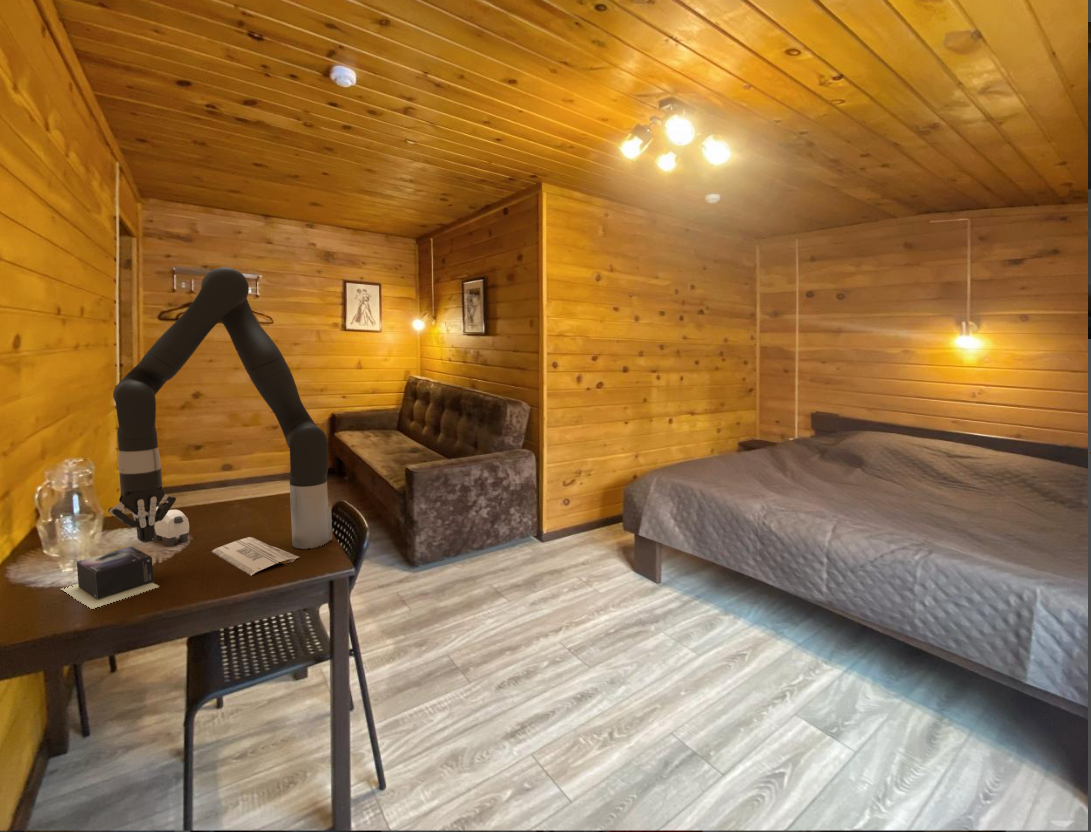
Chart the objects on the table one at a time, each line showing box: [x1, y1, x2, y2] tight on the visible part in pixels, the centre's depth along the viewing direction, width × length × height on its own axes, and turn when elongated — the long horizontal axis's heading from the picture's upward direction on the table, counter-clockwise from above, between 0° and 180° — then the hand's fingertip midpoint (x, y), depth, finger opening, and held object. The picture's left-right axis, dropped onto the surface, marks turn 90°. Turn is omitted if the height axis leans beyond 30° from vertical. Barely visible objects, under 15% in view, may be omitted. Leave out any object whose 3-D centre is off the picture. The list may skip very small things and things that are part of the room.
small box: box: [76, 546, 155, 600], centre depth 116 cm, size 11×6×10 cm
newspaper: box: [211, 536, 299, 577], centre depth 134 cm, size 23×12×2 cm, turn 54°
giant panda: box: [151, 502, 190, 547], centre depth 143 cm, size 15×6×10 cm, turn 65°
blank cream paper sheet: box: [60, 582, 160, 610], centre depth 115 cm, size 12×16×1 cm
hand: (146, 541), depth 120 cm, fingers closed
